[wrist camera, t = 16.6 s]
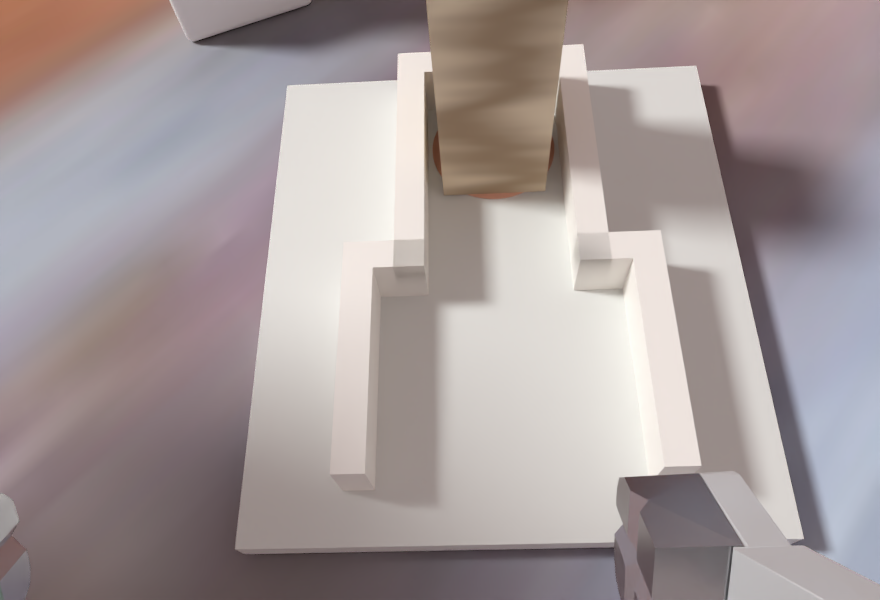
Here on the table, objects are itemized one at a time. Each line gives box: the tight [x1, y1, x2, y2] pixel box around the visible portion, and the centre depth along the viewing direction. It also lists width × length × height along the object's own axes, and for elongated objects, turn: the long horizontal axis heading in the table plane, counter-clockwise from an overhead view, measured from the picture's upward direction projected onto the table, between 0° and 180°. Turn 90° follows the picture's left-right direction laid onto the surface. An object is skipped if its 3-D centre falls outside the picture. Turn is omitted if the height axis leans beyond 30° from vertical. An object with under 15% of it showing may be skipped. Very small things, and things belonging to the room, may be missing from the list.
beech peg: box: [426, 0, 568, 195], centre depth 28 cm, size 4×4×11 cm
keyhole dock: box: [235, 44, 804, 554], centre depth 30 cm, size 20×22×4 cm
